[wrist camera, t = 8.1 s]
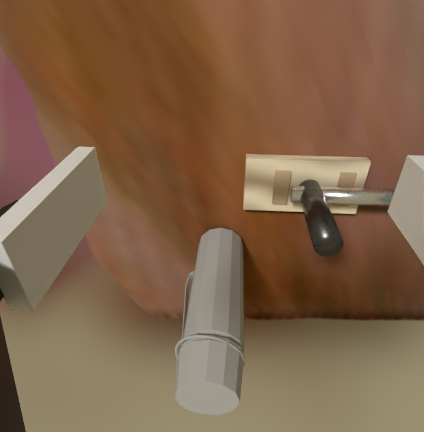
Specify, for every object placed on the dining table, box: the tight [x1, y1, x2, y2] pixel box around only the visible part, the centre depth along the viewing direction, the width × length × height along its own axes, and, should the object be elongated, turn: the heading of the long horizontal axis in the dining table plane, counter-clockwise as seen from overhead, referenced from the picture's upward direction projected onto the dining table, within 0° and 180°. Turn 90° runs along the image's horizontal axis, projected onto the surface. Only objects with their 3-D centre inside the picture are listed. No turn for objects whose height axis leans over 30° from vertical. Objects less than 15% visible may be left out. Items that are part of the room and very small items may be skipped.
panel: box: [243, 154, 371, 214], centre depth 45 cm, size 8×16×2 cm, turn 90°
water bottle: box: [175, 228, 245, 415], centre depth 43 cm, size 9×8×25 cm
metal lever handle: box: [290, 179, 395, 256], centre depth 39 cm, size 18×7×13 cm, turn 90°
